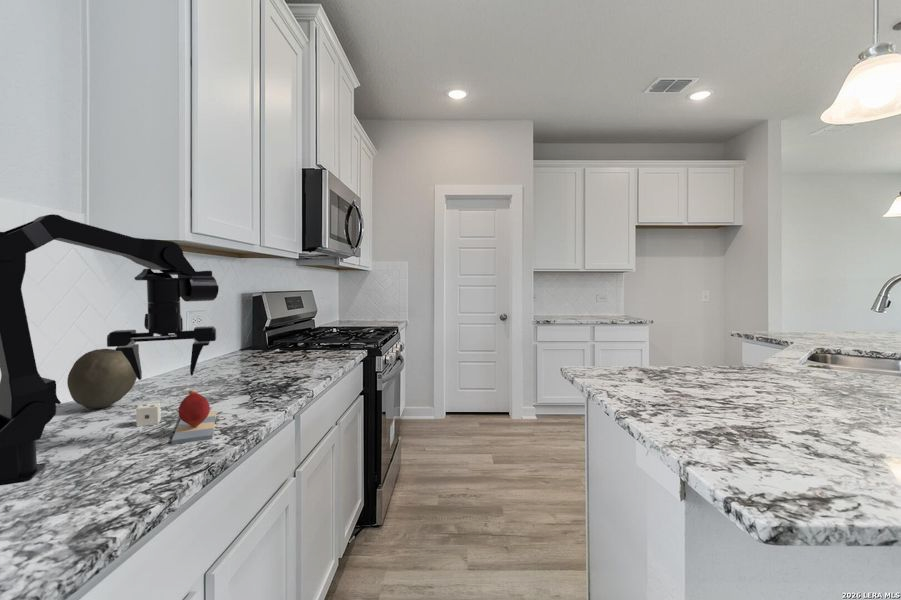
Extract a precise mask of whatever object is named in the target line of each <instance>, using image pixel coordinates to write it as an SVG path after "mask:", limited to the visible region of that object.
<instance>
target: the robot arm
mask: <svg viewBox="0 0 901 600" xmlns="http://www.w3.org/2000/svg"><path fill="white" fill-rule="evenodd" d="M52 241H58V242H62V243H66V244H70V245H75V246H79V247H84V248H88V249H90V250H97V251H101V252H104V253H108V254H113V255H116V256H121V257H124V258H126V259H128V260H129V261H131V262H133V263H134V264H137V265H139V266H142V267H144V268H143V269H142V271H141V272H140V273H139V274H137V275H136V276H134V280H135V281H146V289H147V290H146V292H147V294H146V295H147V313H145V315H144V324H143V325H144V328H145V330H146V331H148V332H137V330H136V329H122V330H121V329H119V330H113V331H111V332H109V333H108V334H107V337H106V347H107V348H109V347H110V348H111V347H115V350H116V351H122V353H123V354H124V355H125V357H126V358H127V360H128V361H129V362H130V364H131V366H132V368H133V370H134V372H135V374H136V376H137V380H139V381H140V380H142V378H143V377H142V376H143V375H142V374H143V373H142V366H141V358H140V353H139V351H140V350H139V349H140V347H139V346H140V345H139V344H138V343H137V342H139V343H141V342H156V341H157V342H158V341H178V340H193V343H192V345H191V346H192V347H191V348H192V349H191V356H190V357H191V358H190V365H189V372H190V375H189V376H193V375H194V372H195V369H196V366H197V363H198V360H199V356H200V354H201V353H202V350H203V348H204V347H207V346H209V345H210V343H211V342H215V341H216V340H217V328H215V326H213V325H212V326H211V325H210V326H196V327H194V328H193V330H184V327H183V326H184V324H183V317H182V314H181V299H182V301H184V302H210V301H215V300H216V298H217V296H218V295H219V284H218V282H217V280H216V278H215V277H214V276H213V271H212V270H200V271H199V270H198V271H197V270H195V269H194V267H193V266H192V264H191V263H190V262H189V261H188V259H187V258H186V257H185V256H184V252H183V249H182V248H181V245H180V244H178V243H176V242H175V241H171V240H162V239H156V238H155V239H153V238H139V237H134V236H130V235H125V234H122V233H119V232H116V231H112V230H108V229H104V228H100V227H98V226H94V225H90V224H86V223H83V222H79V221H76V220H73V219H70V218H69V219H68V218H65V217H63V216H61V215H59V214H53V213H52V214H46V215H43V216H42V215H41V216H38V217H36V218H35V219H34V220H32V221H29V222H27V223H24V224H21V225H19V226H15V227H13V228H10V229H8V230H5V231H0V375H1V376H0V485H2V484H8V483H16V482H22V481H29V480H32V479H33V478H35V477H36V475H38V473H40V472H41V471H42V470H43V469H44V468H45V467H46V463H45V462H43V463H42V462H41V463H38V460H37V459H38V458H37V456H38V455H37V440H40V439H41V437H42V435H43V432H44V430H45V427H46V425H47V424H49V423H50V422H51V420H52V419H53V418H54V417H55V416H56V414H57V405H60V404H61V403H62V402H61V401H60V399H59V397H58V395H57V381H56V380H54V379H50V378H46V377H42V376H41V375H40V373H39V371H38V367H37V363H36V358H35V357H36V356H35V353H34V346H33V343H32V342H33V341H32V339H31V338H32V337H31V333H30V328H29V322H28V317H27V312H26V306H25V302H24V301H25V300H24V298H23V293H22V286H23V282H24V276H25V274H26V269H27V268H26V267H27V265H26V264H27V254H28V253H30V252H32V251H34V250H37V249H39V248H42V246H45V245H47V244H48V243H50V242H52ZM154 271H159V272H154ZM173 276H177V277H173ZM136 343H137V344H136Z"/></svg>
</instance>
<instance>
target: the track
mask: <svg viewBox="0 0 901 600" xmlns="http://www.w3.org/2000/svg"><path fill="white" fill-rule="evenodd" d="M216 418H217V410H211V411H209V414H208V416H207V418H206V419H205V420H204V421H203V422H202V423H201V424H199V425H198V426H197V427H192V426H190V425H189V424H187V423H185V422H184V421H182V420H181V419H180V420H179V423H178V425H177V427H176V429H175V432H174V434H173V435H172V439H171V445H176V444H178V445H179V444H184V443H191V442H198V441H209V440H212V439H213V436H214V431H215V423H216Z"/></svg>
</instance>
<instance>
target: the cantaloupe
mask: <svg viewBox="0 0 901 600" xmlns="http://www.w3.org/2000/svg"><path fill="white" fill-rule="evenodd" d="M137 380H138V378H137V376H136V374H135V372H134V370H133V368H132V366H131V364H130V362H129V361H128V360H127V358H126V357H125V355H124V354H123V353H122V351H116V348H115V349H112V348H99V349H93V350H91V351H88V352H85V353H84V354H83V355H81V356H79V358H78V359H76V361H74V363H73V365H72V367H71V369H70V371H69V373H68V375H67V382H66V383H67V389H68V391H69V394H70V397H71V398H72V400H73V401H74V402H75V403H77V405H80V406H82V407H85V408H88V409H93V410H94V409H96V410H97V409H101V408H105V407H108V406H112V405H113V404H116V403H117V402H120V401H121V399H122V398H124V397H125V396H126V395H127V394H128V393H129V392H130V391H131V390H132V389H133V387H134V386H135V384H136V381H137Z"/></svg>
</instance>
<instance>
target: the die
mask: <svg viewBox="0 0 901 600" xmlns="http://www.w3.org/2000/svg"><path fill="white" fill-rule="evenodd" d="M135 411H136V412H135V414H136V427H145V426H153V425H159V423H160V421H161V420H162V419H161V415H162V414H161V412H162V411H161V402H154V403H145V404H142V403H141V404H139V405H138V406H137V407H136V409H135Z"/></svg>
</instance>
